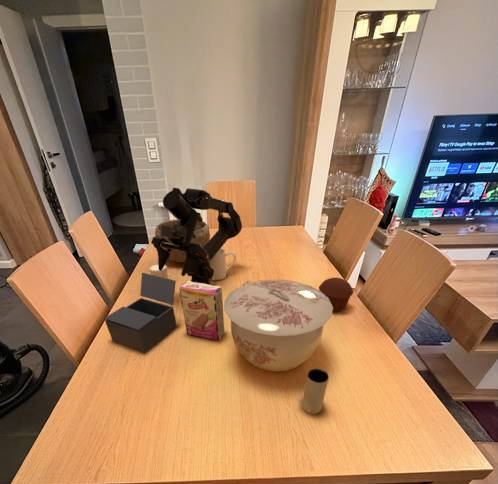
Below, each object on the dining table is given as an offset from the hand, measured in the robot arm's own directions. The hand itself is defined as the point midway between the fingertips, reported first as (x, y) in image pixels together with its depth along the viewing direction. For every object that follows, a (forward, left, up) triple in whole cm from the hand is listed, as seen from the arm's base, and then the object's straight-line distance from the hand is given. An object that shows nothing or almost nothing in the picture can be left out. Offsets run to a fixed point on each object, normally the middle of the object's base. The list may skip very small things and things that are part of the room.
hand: (170, 272), depth 97 cm
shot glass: (+13, -19, -14) cm, 26 cm away
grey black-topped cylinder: (-45, +39, -14) cm, 62 cm away
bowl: (+10, -45, -14) cm, 48 cm away
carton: (+6, +16, -14) cm, 21 cm away
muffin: (-54, -9, -14) cm, 57 cm away
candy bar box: (-13, +13, -14) cm, 23 cm away
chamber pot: (-35, +20, -14) cm, 43 cm away
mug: (-10, -29, -14) cm, 33 cm away
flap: (+2, +7, -2) cm, 8 cm away
